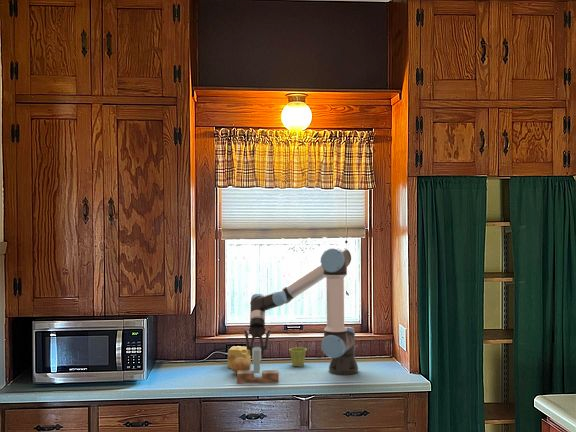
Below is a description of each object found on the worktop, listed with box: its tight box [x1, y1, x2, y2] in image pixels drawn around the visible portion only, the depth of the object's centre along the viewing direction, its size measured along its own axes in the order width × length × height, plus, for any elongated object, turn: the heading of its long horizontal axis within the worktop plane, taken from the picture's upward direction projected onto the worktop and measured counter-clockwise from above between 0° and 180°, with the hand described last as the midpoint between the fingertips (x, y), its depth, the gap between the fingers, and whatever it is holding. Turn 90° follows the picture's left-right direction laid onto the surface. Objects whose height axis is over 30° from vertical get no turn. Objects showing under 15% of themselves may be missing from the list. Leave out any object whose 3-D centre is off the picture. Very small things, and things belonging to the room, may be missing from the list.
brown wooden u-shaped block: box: [236, 369, 280, 384], centre depth 321 cm, size 20×6×4 cm, turn 91°
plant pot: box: [288, 347, 308, 367], centre depth 353 cm, size 9×9×9 cm
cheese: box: [227, 345, 252, 369], centre depth 352 cm, size 10×11×10 cm
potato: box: [231, 357, 251, 375], centre depth 335 cm, size 10×14×8 cm
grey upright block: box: [253, 346, 261, 374], centre depth 321 cm, size 8×3×11 cm, turn 1°
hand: (256, 361), depth 319 cm, fingers closed on grey upright block, 3 cm apart
